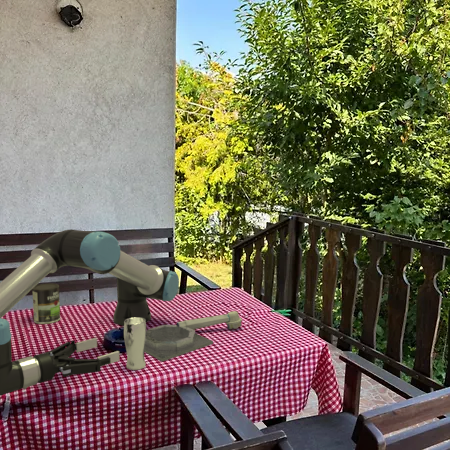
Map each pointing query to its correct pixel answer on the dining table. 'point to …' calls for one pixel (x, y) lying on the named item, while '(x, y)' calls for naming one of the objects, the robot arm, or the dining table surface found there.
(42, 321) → the coffee can
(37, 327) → the dining table surface
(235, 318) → the beige knobbed rod
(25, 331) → the dining table surface
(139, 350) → the chrome metal cup
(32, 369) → the robot arm
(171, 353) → the collar
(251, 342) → the dining table surface
